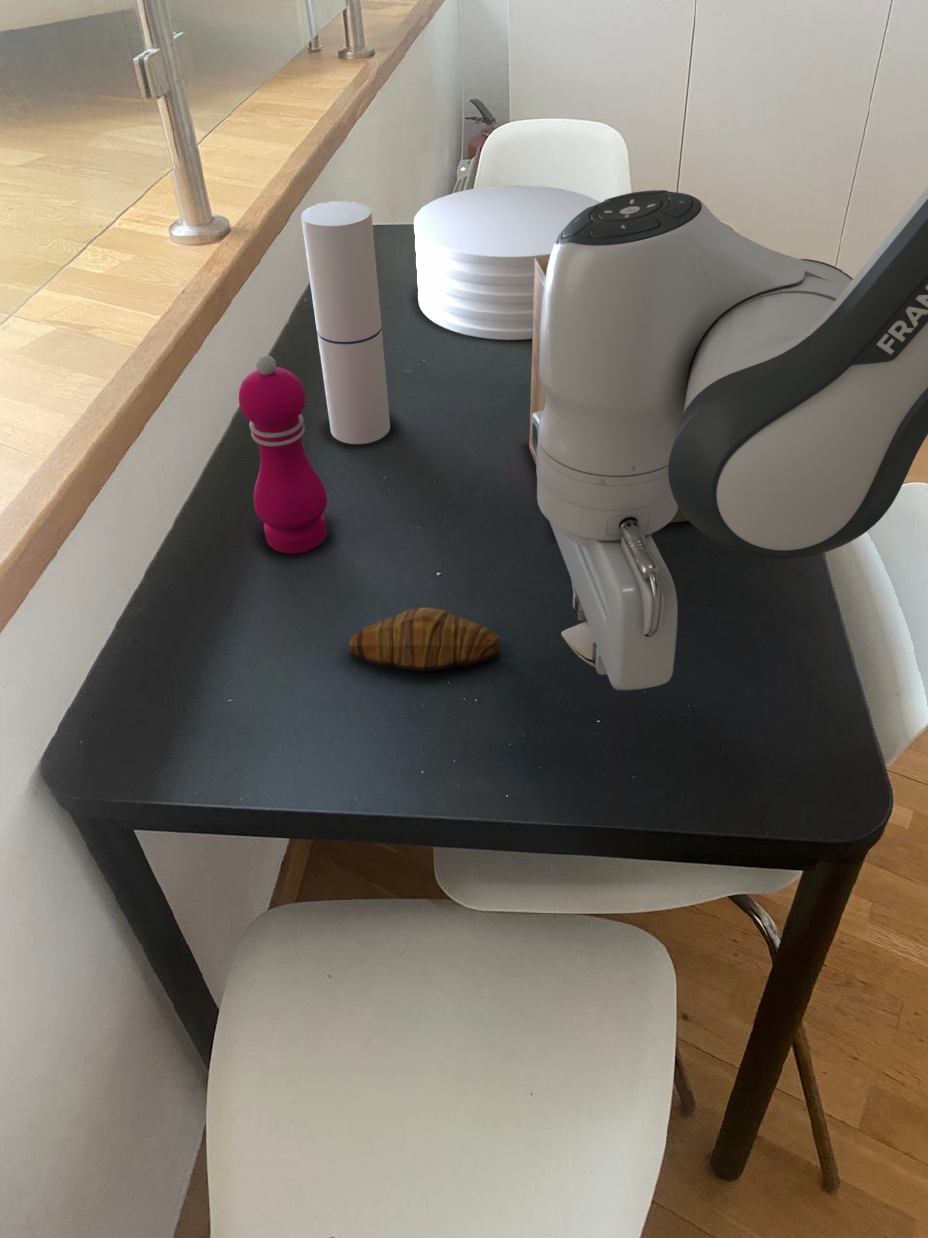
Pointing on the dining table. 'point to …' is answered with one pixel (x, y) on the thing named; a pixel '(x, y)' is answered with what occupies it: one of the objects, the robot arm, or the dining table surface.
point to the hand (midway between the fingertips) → (596, 639)
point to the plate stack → (488, 255)
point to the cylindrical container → (348, 318)
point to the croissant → (425, 641)
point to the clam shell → (580, 641)
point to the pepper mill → (283, 460)
